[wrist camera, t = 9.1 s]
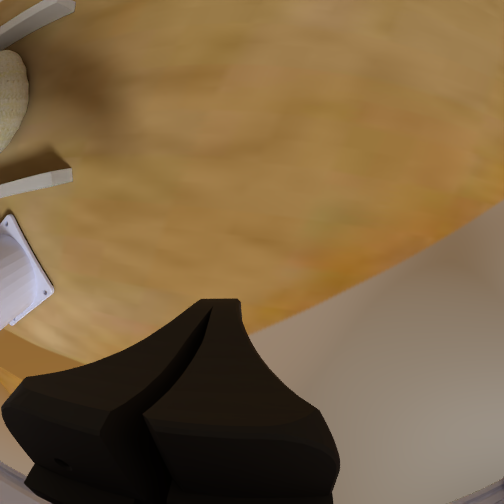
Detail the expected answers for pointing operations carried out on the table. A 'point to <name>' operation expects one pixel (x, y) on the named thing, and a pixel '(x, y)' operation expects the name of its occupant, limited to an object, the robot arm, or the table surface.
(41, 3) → the grey u-shaped bracket
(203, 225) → the table surface
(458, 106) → the table surface
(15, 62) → the sea urchin shell
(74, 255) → the table surface
